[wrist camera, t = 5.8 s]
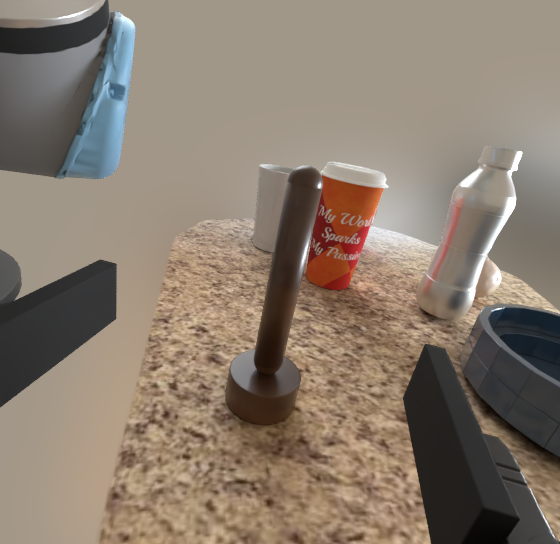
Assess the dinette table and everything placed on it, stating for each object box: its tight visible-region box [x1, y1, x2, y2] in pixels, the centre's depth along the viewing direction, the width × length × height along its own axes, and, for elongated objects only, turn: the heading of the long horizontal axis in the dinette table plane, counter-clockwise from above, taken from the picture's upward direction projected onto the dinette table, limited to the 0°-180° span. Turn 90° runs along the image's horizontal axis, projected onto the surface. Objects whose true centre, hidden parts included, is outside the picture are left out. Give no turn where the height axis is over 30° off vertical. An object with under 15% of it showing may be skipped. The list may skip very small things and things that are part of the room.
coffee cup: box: [306, 162, 388, 290], centre depth 45 cm, size 8×8×15 cm
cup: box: [253, 164, 294, 252], centre depth 55 cm, size 8×8×12 cm
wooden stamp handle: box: [226, 165, 323, 425], centre depth 22 cm, size 5×5×16 cm
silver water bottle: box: [416, 146, 522, 320], centre depth 41 cm, size 6×7×20 cm
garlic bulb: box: [475, 257, 501, 298], centre depth 52 cm, size 7×6×8 cm
